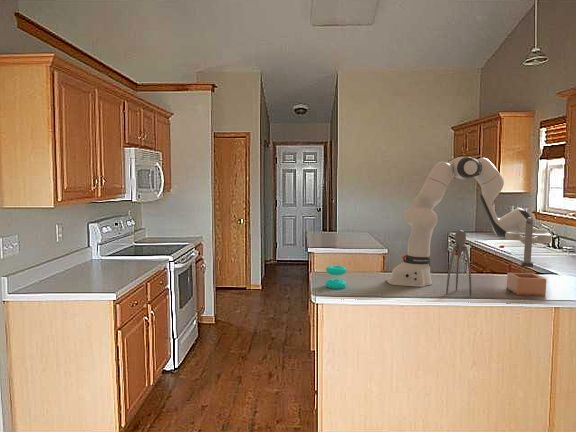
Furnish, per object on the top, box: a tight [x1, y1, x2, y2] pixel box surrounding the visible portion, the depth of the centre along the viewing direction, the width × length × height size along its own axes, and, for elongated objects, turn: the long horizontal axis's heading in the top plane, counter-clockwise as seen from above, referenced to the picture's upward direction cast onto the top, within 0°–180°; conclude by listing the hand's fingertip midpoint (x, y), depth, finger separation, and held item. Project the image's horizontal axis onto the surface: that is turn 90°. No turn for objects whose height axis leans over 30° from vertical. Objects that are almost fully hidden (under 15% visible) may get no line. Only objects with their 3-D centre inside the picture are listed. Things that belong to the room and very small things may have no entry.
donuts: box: [325, 265, 348, 290], centre depth 255 cm, size 10×10×10 cm
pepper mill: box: [520, 217, 534, 268], centre depth 247 cm, size 5×5×23 cm
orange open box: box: [506, 272, 547, 297], centre depth 249 cm, size 13×13×8 cm
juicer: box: [445, 229, 472, 297], centre depth 246 cm, size 10×11×30 cm
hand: (528, 238), depth 246 cm, fingers closed on pepper mill, 3 cm apart
